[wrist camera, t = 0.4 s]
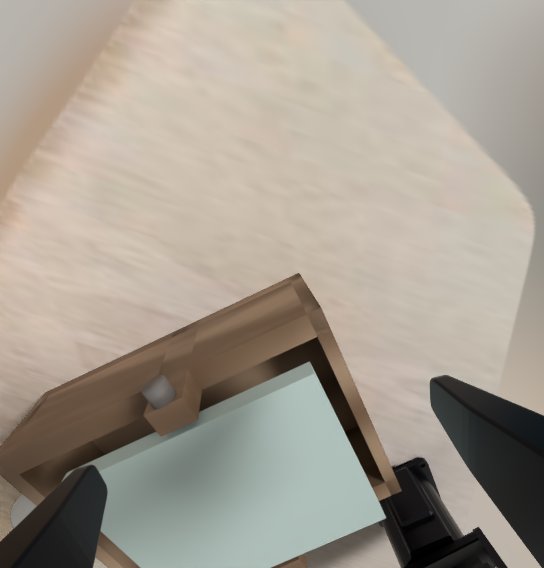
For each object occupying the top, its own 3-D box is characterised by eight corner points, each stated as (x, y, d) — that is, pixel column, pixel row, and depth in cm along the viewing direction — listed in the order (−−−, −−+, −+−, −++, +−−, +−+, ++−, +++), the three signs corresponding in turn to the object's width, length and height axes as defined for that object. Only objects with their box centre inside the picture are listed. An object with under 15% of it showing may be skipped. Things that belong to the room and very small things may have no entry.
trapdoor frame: (371, 434, 28) (424, 534, 20) (169, 524, 28) (146, 652, 21) (293, 260, 21) (326, 310, 14) (36, 382, 22) (-66, 492, 15)
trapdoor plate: (379, 502, 20) (386, 518, 19) (184, 586, 21) (182, 605, 20) (309, 361, 16) (314, 373, 15) (66, 472, 16) (56, 490, 16)
